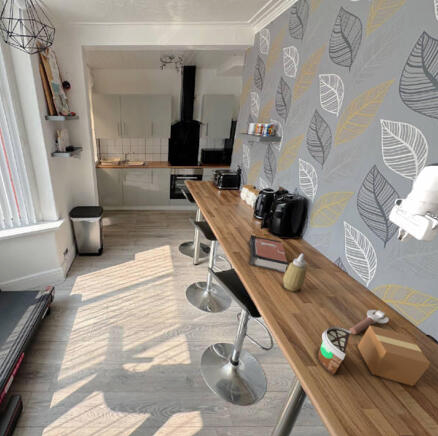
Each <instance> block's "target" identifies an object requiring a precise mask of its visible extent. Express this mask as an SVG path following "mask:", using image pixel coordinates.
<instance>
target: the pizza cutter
mask: <svg viewBox="0 0 438 436" xmlns="http://www.w3.org/2000/svg"><path fill="white" fill-rule="evenodd" d="M366 316H367V317H366V318H364V319H362V320H361V321H359V322H358V323H356V324H354V325H353V326H351V327H350V328H349V329H348V330H349V331H351V334H352V335H357V334H359V333H361V332H362V331H364V330H365V329H368V328H369V326H373V325H374V324H376V323H378V324H387V323H388V322H389V321H390V320H389V317H388V316H386V313H385V312H384V311H382V310H380V309H378V310H376V309H369V310H367V312H366Z"/></svg>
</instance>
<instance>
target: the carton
mask: <svg viewBox="0 0 438 436" xmlns="http://www.w3.org/2000/svg"><path fill="white" fill-rule="evenodd" d="M357 348H358V351H359V352H360V354H361V356H362V358H363V360H364V362H365V363H366V366H367V368H368V369H369V371H370V374H371V375H373V376H376V377H377V376H378V377H381V378H384V379H387V380H391V381H394V382H398V383H400V384H404V385H408V386H411V387H414V386H415V385H416V383H417V382H418V381H419V379H420V378H421V377H422V376H423V374H425V372H426V370H427V369H428V368H429V367H430V365H431V364H432V363H431V362H430V361H429V360H428V358H427V357H426V355H425V354H424V353H423V351H422V350H421V348H420V347H419V346H418V345H417V344H416V343H415V341H414V340H413V339H412V337H410V335H409V334H406V333H402V332H397V331H393V330H390V329H387V328H383V327H378V326H374V325H370V326H368V327H367V328H366V330H365V333H364V334H363V336H362V338H361V339H360V341H359V343H358V345H357Z"/></svg>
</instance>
